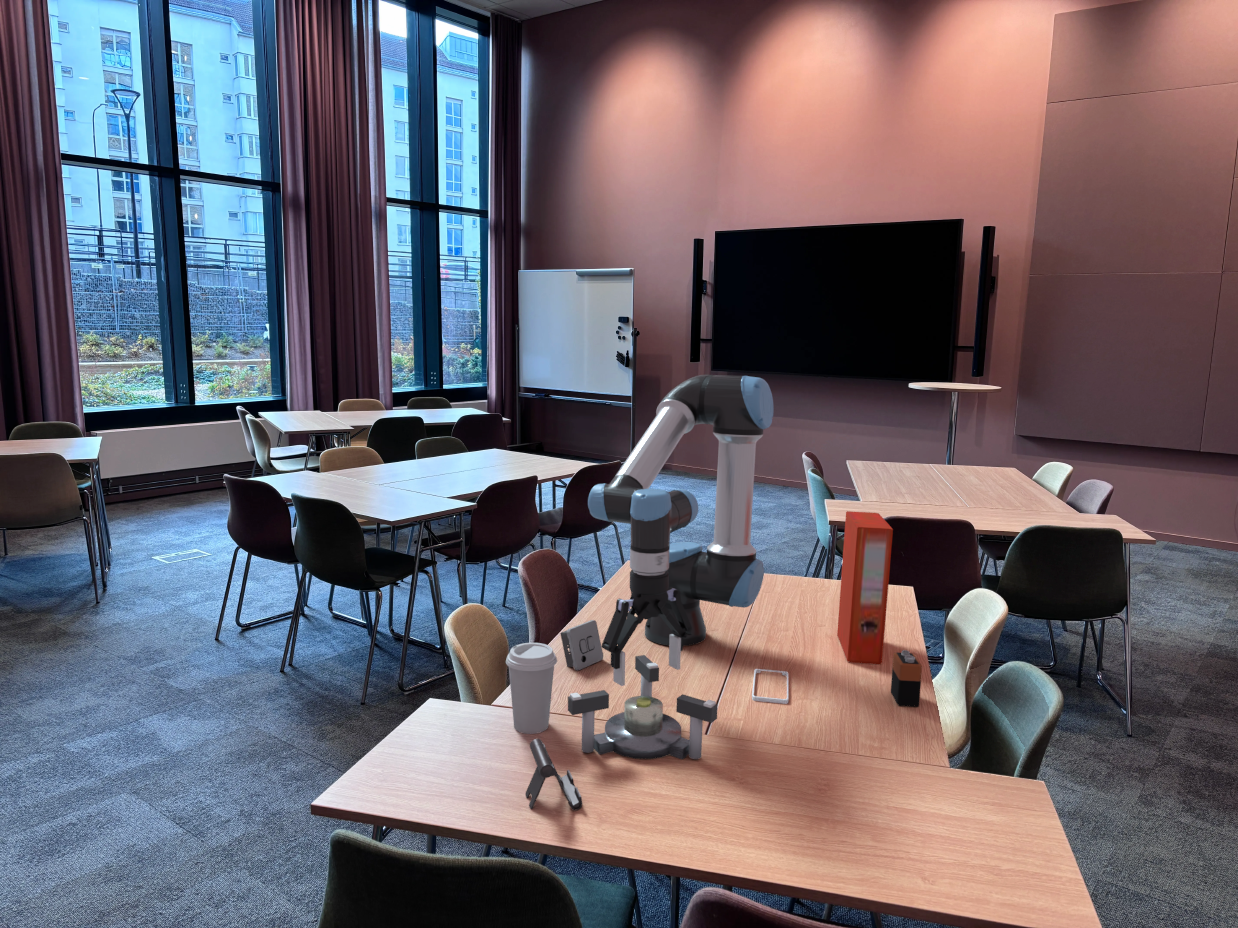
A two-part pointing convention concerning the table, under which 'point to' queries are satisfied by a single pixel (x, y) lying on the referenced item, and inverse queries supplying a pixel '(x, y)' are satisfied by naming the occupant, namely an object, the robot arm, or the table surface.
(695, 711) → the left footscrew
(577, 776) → the table surface
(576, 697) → the foot screw
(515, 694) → the coffee cup
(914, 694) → the battery
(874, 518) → the file binder
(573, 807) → the portable electronic device stand
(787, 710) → the table surface
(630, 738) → the levelling base
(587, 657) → the electrical switch
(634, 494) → the robot arm
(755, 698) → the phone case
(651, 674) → the foot screw
